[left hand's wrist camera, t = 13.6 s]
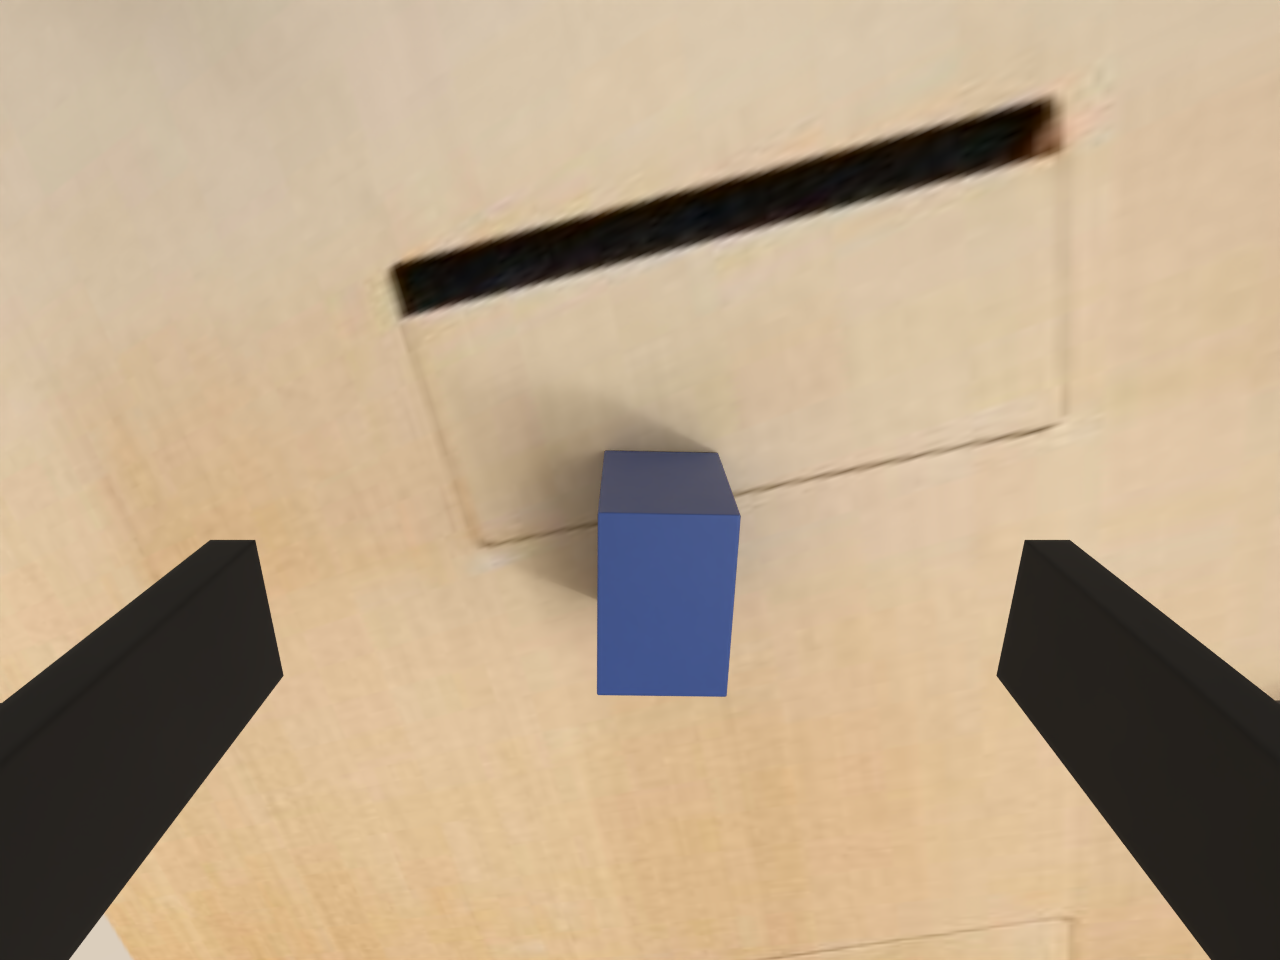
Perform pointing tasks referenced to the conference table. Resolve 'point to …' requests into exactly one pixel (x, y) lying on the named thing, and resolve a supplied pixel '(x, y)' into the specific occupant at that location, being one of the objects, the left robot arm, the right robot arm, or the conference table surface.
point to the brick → (665, 574)
